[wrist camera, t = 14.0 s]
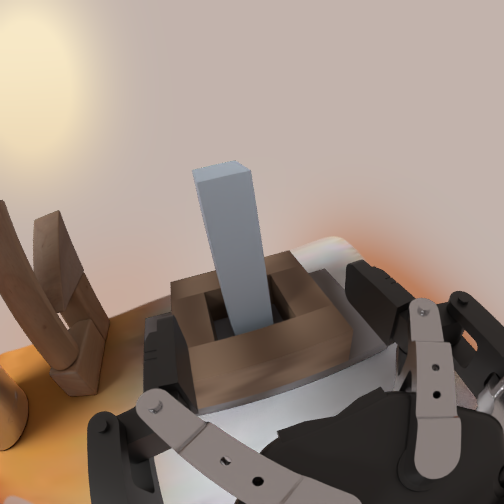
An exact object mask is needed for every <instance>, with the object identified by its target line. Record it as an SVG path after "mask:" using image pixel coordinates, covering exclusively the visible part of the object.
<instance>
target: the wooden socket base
mask: <svg viewBox="0 0 504 504" xmlns="http://www.w3.org/2000/svg"><path fill="white" fill-rule="evenodd" d="M264 261H265V268H266V275H267V282H268V289H269V296H270V303H271V310H272V317H273V325H270V326H267V327H263V328H260V329H257V330H253V331H250V332H247V333H243V334H240V335H236V336H234V333H233V330H232V327H231V324H230V321H229V317H228V314H227V310H226V306H225V303H224V299H223V295H222V292H221V288H220V284H219V280H218V277H217V273H216V270H215V271H211V272H207V273H204V274H200V275H196V276H192V277H189V278H185V279H181V280H178V281H174V282H171V311H172V312H169V313H165V314H161V315H157V316H153V317H149V318H146V319H145V336H144V342H145V340H146V338H147V336H148V334H149V333H151V332H155V331H157V319H158V318H162V317H166V316H170V315H174V316H175V318H176V320H177V322H178V324H179V327H180V329H181V331H182V333H183V336H184V338H185V340H186V343H187V346H188V350H189V357H190V364H191V370H192V377H193V383H194V389H195V395H196V400H197V406H198V411H199V414H195V415H196V416H199V415H204V414H208V413H213V412H217V411H221V410H225V409H229V408H233V407H237V406H241V405H244V404H248V403H251V402H255V401H258V400H261V399H265V398H268V397H271V396H274V395H277V394H280V393H283V392H286V391H289V390H292V389H295V388H298V387H300V386H303V385H306V384H308V383H311V382H314V381H316V380H319V379H321V378H324V377H326V376H329V375H331V374H333V373H336V372H338V371H340V370H343V369H345V368H347V367H350V366H352V365H354V364H356V363H358V362H360V361H363V360H365V359H367V358H369V357H371V356H373V355H375V354H377V353H379V352H381V351H383V350H385V349H387V346H386V345H385V343H384V342H383V341H382V340H381V339H380V338H379V336H378V335H377V334H376V333H375V332H374V330H373V329H372V328H371V327H370V326H369V325H368V323H367V322H366V321H365V320H364V319H363V318H362V317H361V315H360V314H359V313H358V312H357V311H356V310H355V309H354V307H353V306H352V305H351V304H350V303H349V301H348V300H347V298H346V294H345V290H344V289H343V288H342V287H341V286H340V285H339V284H338V282H337V281H336V280H335V279H334V278H333V277H332V276H331V275H330V274H329V273H328V272H327V271H326V269H322V270H319V271H315V272H312V273H309V274H308V273H307V271H306V270H305V269H304V268H303V267H302V265H301V264H300V263H299V262H298V261H297V259H296V258H295V257H294V256H293V255H292V253H291V252H290V251H285V252H281V253H278V254H274V255H270V256H267V257H264ZM143 392H144V369H143Z"/></svg>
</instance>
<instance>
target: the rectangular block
mask: <svg viewBox="0 0 504 504" xmlns="http://www.w3.org/2000/svg"><path fill="white" fill-rule="evenodd" d="M192 173H193V177H194V182H195V186H196V191H197V195H198V199H199V204H200V208H201V212H202V217H203V221H204V225H205V229H206V233H207V237H208V241H209V245H210V249H211V253H212V257H213V261H214V265H215V269H216V273H217V277H218V280H219V284H220V288H221V292H222V295H223V299H224V303H225V306H226V310H227V314H228V317H229V321H230V324H231V327H232V330H233V333H234V336H236V335H240V334H243V333H247V332H250V331H253V330H257V329H260V328H263V327H267V326H270V325H273V317H272V310H271V303H270V296H269V289H268V282H267V275H266V268H265V261H264V255H263V247H262V241H261V234H260V228H259V221H258V214H257V207H256V201H255V195H254V188H253V182H252V175H251V170H249V169H248V168H246V167H244V166H243V165H242V164H240V163H238V162H237V161H230V162H225V163H221V164H216V165H212V166H208V167H203V168H200V169H195V170H192Z"/></svg>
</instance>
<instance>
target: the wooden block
mask: <svg viewBox="0 0 504 504" xmlns="http://www.w3.org/2000/svg"><path fill="white" fill-rule="evenodd" d="M33 235H34V236H33V263H34V265H33V266H34V272H33V270H32V268H31V266H30V264H29V261H28V259H27V257H26V255H25V253H24V251H23V248H22V246H21V244H20V241H19V239H18V237H17V235H16V232H15V229H14V227H13V224H12V221H11V219H10V216H9V213H8V211H7V207H6V205H5V202H4V201H3V200H0V294H1V296H2V298H3V300H4V301H5V303H6V305H7V306H8V308H9V310H10V311H11V313H12V314H13V316H14V317H15V319H16V321H17V322H18V323H19V325H20V327H21V328H22V329H23V331H24V332H25V334H26V335H27V336H28V338H29V339H30V341H31V342H32V343H33V345H34V346H35V347H36V349H37V350H38V351H39V353H40V354H41V355H42V356H43V358H44V359H45V360H46V361H47V363H48V364H49V365H50V366H51V369H50V372H49V374H50V376H51V378H52V379H53V380H54V381H55V382H56V383H57V384H58V385H59V386H60V387H61V388H62V389H63V390H64V391H65V393H66V394H67V395H69V396H84V395H95V394H96V393H97V389H98V381H99V375H100V369H101V363H102V357H103V351H104V346H105V340H106V337H107V332H108V328H109V323H110V321H109V318H108V317H107V315H106V313H105V311H104V310H103V308H102V306H101V304H100V302H99V300H98V299H97V297H96V295H95V293H94V291H93V289H92V287H91V285H90V283H89V281H88V279H87V277H86V275H85V273H84V272H83V271H84V269H83V267H82V265H81V263H80V260H79V258H78V256H77V253H76V251H75V249H74V246H73V244H72V242H71V239H70V237H69V234H68V232H67V229H66V227H65V224H64V221H63V219H62V216H61V213H60V211H59V210H58V211H55V212H53V213H50V214H48V215H45V216H43V217H41V218H38V219H36V220H35V221H34V234H33ZM57 313H61V315H62V317H63V318H64V320H65V322H66V323H67V325H68V326H69V328H70V329H69V330H67V328H66V327H65V326H64V324H63V322H62V321H61V319H60V318H59V316H58V314H57Z"/></svg>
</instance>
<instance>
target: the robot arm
mask: <svg viewBox="0 0 504 504" xmlns="http://www.w3.org/2000/svg"><path fill="white" fill-rule="evenodd" d="M345 294H346V298H347V300H348V301H349V303H350V304H351V305H352V306H353V307H354V309H355V310H356V311H357V312H358V313H359V314H360V315H361V317H362V318H363V319H364V320H365V321H366V322H367V323H368V325H369V326H370V327H371V328H372V329H373V330H374V332H375V333H376V334H377V335H378V336H379V338H380V339H381V340H382V341H383V342H384V343H385V345H386V346H389V345H391V344H392V343H394V342H396V343H397V349H396V372H395V384H394V388H393V391H390V392H384V391H383V389H382V388H381V387H379V388H377V389H375V390H373V391H371V392H370V393H368V394H366V395H364V396H362V397H360V398H358V399H357V400H355V401H354V402H353V403H352V404H350V405H349V406H348V407H347V408H345V409H344V410H343V411H342V412H340V413H339V414H338V415H336V416H333V417H328V418H323V419H317V420H310V421H304V422H302V423H299V424H296V425H294V426H291V427H288V428H285V429H282V430H279V431H277V433H278V438H277V439H275V440H274V441H272V442H271V443H270V444H268V445H267V446H266V447H265V448H264V449H263V450H262V451H261V452H260V453H258V452H256V451H254V450H253V449H251V448H249V447H248V446H246V445H244V444H243V443H241V442H240V441H238V440H236V439H235V438H233V437H232V436H230V435H229V434H227V433H226V432H224V431H223V430H221V429H220V428H218V427H217V426H215V425H214V424H212V423H210V422H205V421H203V420H202V419H200V418H199V417H198V416H196V415H195V414H199V411H198V406H197V400H196V395H195V389H194V383H193V377H192V370H191V364H190V357H189V350H188V346H187V343H186V340H185V338H184V336H183V333H182V331H181V329H180V327H179V324H178V322H177V320H176V318H175V316H174V315H170V316H166V317H162V318H158V319H157V331H155V332H151V333H149V334H148V336H147V338H146V340H145V342H144V392H143V394H142V395H141V396H140V397H139V398H138V400H137V403H136V406H135V407H134V408H132V409H130V410H128V411H126V412H124V413H122V414H120V415H118V416H115V415H114V414H112V413H110V412H106V411H104V412H99V413H97V414H95V415H94V416H93V417H92V418H91V419H90V421H89V423H88V428H87V452H88V474H89V486H90V496H91V504H164V503H163V499H162V495H161V491H160V486H159V482H158V477H157V472H156V467H155V462H154V456H156V455H158V454H160V453H162V452H164V451H166V450H169V449H171V448H173V449H174V450H175V451H176V452H177V453H178V454H179V455H180V456H181V457H183V458H184V459H185V460H186V461H187V462H189V463H190V464H191V465H192V466H193V467H195V468H196V469H197V470H198V471H200V472H201V473H202V474H204V475H205V476H206V477H208V478H209V479H210V480H212V481H213V482H214V483H216V484H217V485H219V486H220V487H221V488H223V489H224V490H226V491H227V492H229V493H230V494H232V495H233V496H235V497H236V498H237V499H236V501H235V503H234V504H504V327H503V326H502V325H501V324H500V323H499V322H498V321H497V320H496V319H495V318H494V317H493V316H492V315H491V314H490V313H489V312H488V311H487V310H486V309H485V308H484V307H483V306H482V305H481V304H480V303H478V302H477V301H476V300H475V299H474V298H473V297H472V296H471V295H469V294H468V293H466V292H462V291H456V292H453V293H452V294H451V296H450V298H449V301H448V302H446V303H441V304H435V303H434V302H433V301H431V300H429V299H426V298H417V299H416V298H414V297H413V296H412V295H411V294H410V293H409V292H407V290H405V289H404V288H403V287H402V286H401V285H400V284H399V283H396V281H395V280H394V279H393V278H390V276H389V275H388V274H387V273H386V272H385V271H383V270H381V269H379V268H376V267H371V266H370V265H369V264H368V263H367V262H365V261H364V260H359V261H356V262H353V263H350V264H348V265H347V267H346V282H345ZM464 330H466V331H467V332H468V333H469V335H471V337H472V338H473V339H474V340H475V341H476V343H477V346H478V349H477V352H476V351H475V350H474V348H473V347H472V346H471V345H470V344H469V343H468V342H467V341H466V339H465V338H464V337H463V336H462V334H463V332H464ZM454 370H455V371H456V372H457V374H458V375H459V376H460V377H461V379H462V380H463V381H464V383H465V384H466V385H467V387H468V388H469V389H470V390H471V392H472V393H473V394H474V396H475V397H476V399H477V404H478V407H477V408H476V410H472V409H467V408H463V407H459V406H457V404H456V386H455V374H454ZM27 416H28V401H27V397H26V395H25V393H24V391H23V390H22V389H21V388H20V387H19V386H18V385H17V384H16V383H15V382H14V381H13V379H12V378H11V377H10V376H9V375H8V374H7V373H6V372H5V370H4V369H3V368H2V367H1V366H0V450H5V449H8V448H9V447H11V446H12V445H13V444H14V443H15V442H16V441H17V440H18V439H19V437H20V435H21V434H22V432H23V430H24V427H25V425H26V421H27Z"/></svg>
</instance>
